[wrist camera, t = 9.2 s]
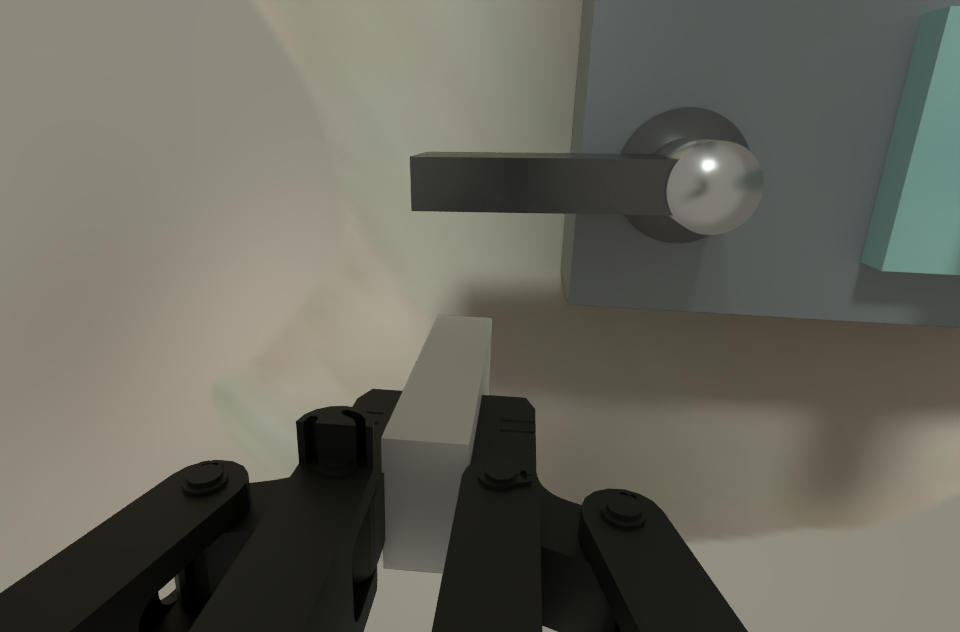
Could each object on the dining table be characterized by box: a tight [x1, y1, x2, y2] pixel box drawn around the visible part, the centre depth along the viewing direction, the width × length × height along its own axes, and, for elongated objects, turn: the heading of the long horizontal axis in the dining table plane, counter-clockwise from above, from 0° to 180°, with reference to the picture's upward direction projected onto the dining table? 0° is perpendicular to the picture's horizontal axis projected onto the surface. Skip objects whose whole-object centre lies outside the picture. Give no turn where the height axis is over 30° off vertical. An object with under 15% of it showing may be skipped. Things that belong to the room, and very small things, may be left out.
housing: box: [561, 0, 960, 328], centre depth 25 cm, size 14×22×6 cm, turn 88°
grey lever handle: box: [410, 138, 764, 235], centre depth 21 cm, size 12×3×4 cm, turn 90°
